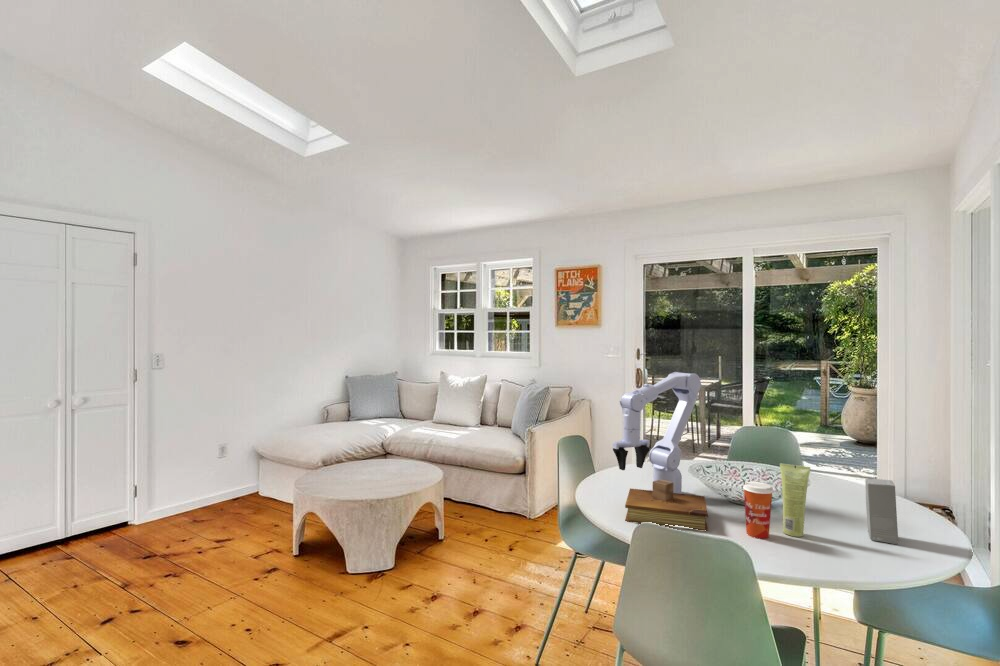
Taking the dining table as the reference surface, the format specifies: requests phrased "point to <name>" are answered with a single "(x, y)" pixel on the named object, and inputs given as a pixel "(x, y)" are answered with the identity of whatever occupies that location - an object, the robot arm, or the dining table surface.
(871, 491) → the skincare box
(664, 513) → the diary
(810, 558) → the dining table surface
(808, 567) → the dining table surface
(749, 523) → the paper cup
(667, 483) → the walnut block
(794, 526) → the tube
